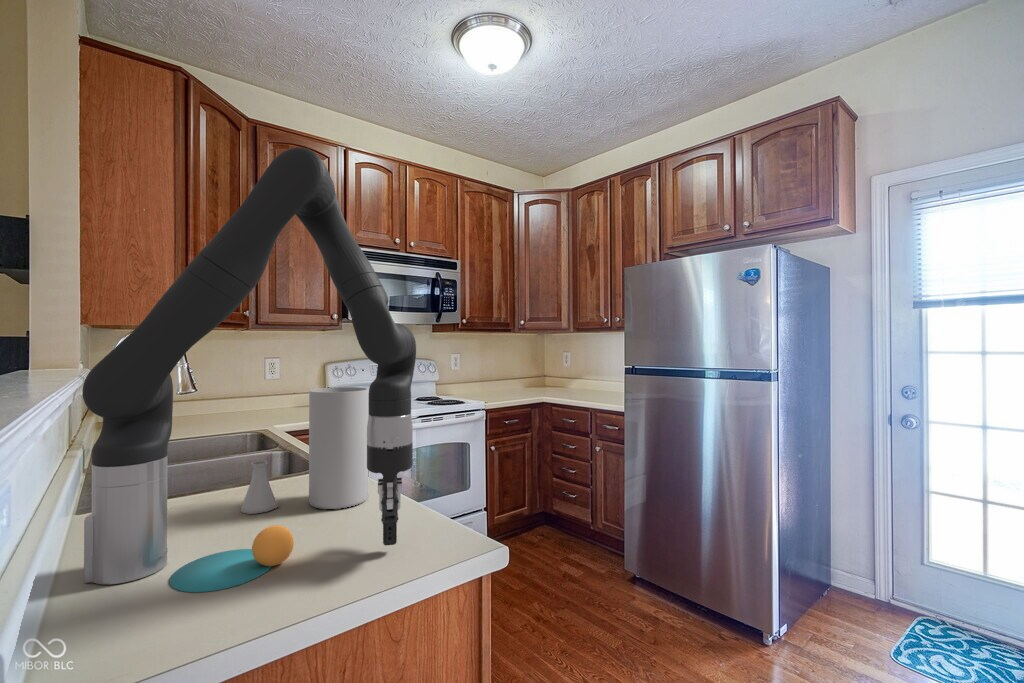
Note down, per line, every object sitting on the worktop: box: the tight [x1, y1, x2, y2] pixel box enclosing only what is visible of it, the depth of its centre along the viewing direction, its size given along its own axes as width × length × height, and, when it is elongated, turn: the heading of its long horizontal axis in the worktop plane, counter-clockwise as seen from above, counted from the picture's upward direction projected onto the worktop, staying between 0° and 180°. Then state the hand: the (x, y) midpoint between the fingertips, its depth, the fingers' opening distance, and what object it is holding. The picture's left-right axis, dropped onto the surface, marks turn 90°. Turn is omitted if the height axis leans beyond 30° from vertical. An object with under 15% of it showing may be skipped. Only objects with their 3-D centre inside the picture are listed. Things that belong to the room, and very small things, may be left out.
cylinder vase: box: [308, 386, 369, 510], centre depth 108 cm, size 12×12×25 cm
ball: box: [251, 525, 295, 567], centre depth 77 cm, size 6×6×6 cm
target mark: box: [169, 548, 273, 593], centre depth 75 cm, size 14×14×1 cm
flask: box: [240, 460, 279, 515], centre depth 103 cm, size 7×7×10 cm
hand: (389, 543), depth 81 cm, fingers closed
